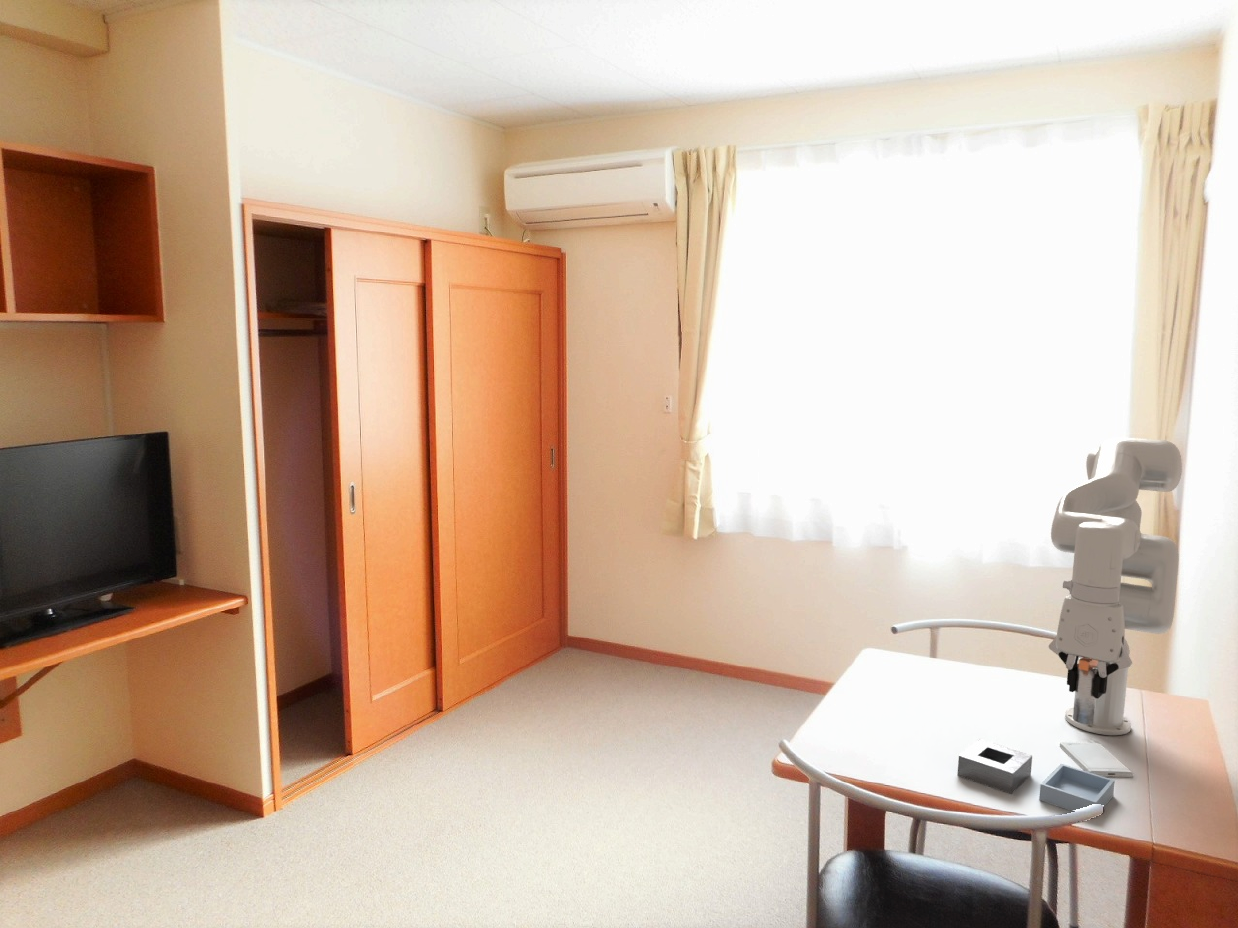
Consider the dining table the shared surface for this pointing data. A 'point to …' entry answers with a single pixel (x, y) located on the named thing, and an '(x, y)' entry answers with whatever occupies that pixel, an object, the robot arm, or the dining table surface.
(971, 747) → the block
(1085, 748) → the hard drive
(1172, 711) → the dining table surface
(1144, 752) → the dining table surface
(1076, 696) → the pin
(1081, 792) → the tray
